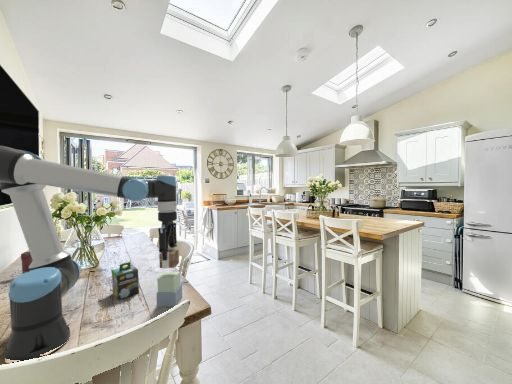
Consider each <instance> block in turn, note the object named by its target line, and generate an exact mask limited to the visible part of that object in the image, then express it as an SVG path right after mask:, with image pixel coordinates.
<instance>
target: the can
mask: <svg viewBox="0 0 512 384" xmlns="http://www.w3.org/2000/svg"><path fill="white" fill-rule="evenodd" d="M20 261H21V272H22V273H21V274H23V273H27V272H29V271H30V270H29V266H30V264H31V263H32V261H33V260H32V257H31V254H30V251H29V250H28V251H25V252H22V253H21V254H20Z"/></svg>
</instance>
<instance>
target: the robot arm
mask: <svg viewBox="0 0 512 384" xmlns="http://www.w3.org/2000/svg"><path fill="white" fill-rule="evenodd" d="M46 186H50V187H54V188H61V189H65V190H66V189H67V190H73V191H79V192H85V193H91V194H97V195H101V196H108V197H109V196H110V197H114V198H120V199H121V198H122V199H127V200H129V201H132V202H139V201H142V200H144V199H157V211H158V213H157V220H158V222H161V227H158V229H157V230H158V231H157V232H158V252H159V254H160V253H162V268H161V269H170V268H169V252H168V250H175V249H176V247H178V244H177V243H178V238H177V222H174V221H177V219H178V213H177V206H178V203H177V181H176V177H175V176H174V175H170V174H169V175H168V174H160V175H159V174H158V175H156V179H145V180H144V179H141V178H140V179H139V178H133V177H129V176H128V177H127V176H122V175H118V174H114V173H108V172H103V171H97V170H93V169H89V168H83V167H79V166H74V165H73V166H72V165H68V164H63V163H58V162H53V161H50V160H49V161H48V160H44V159H43V158H42V157H40V156H39V155H37V154H35V153H33V152H31V151H28V150H24V149H17V148H13V147H9V146H5V145H0V190H1V192H2V193H4V194H6V195H8V196H9V197H10V200H11V203H12V206H13V208H14V211H15V214H16V218H17V220H18V223H19V225H20V228H21V231H22V234H23V237H24V239H25V242H26V246H27V248H28V252H29V251H30V254H31V257H32V260H33V261H32V263H31V264H30V266H29V270H30V271H29V272H27V273H23V274H22V273H21V274H19V275H18V276H16V277H15V278H14V279H12V281H10V283H9V290H8V298H9V313H10V325H11V326H10V328H11V330H10V331H11V332H10V334H9V338H8V340H7V345H6V346H5V349H4V350H3V358H4V357H5V358H6V359H10V360H20V361H24V360H29V359H33V358H39V357H42V356H40V354H44V353H46V352H49V351H50V350H53V349H55V348H57V347H59V346H61V345H62V344H64V343H65V342H66V341H67V340H68V339H69V337H70V338H71V328H70V326H69V325H68V324H67V321H66V320H65V317H64V315H63V297H64V296H65V294H67V293H68V292H69V291H70V290H71V289H72V288H73V287H74V286H75V285H76V283H77V282H78V280H79V278H80V275H81V266H80V265H79V263H78V262H77V261H76V260H73V258H72V255H71V253H70V252H68V251H65V250H64V248H63V246H62V245H63V244H62V242H61V240H60V236H59V233H58V229H57V226H56V224H55V222H54V218H53V216H52V212H51V209H50V206H49V204H48V200H47V198H46V194H45V191H44V189H45V187H46ZM69 340H70V339H69ZM69 340H68V341H69ZM43 356H45V355H43ZM17 362H19V361H17ZM12 363H14V362H12Z"/></svg>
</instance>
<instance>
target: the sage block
mask: <svg viewBox="0 0 512 384" xmlns="http://www.w3.org/2000/svg"><path fill="white" fill-rule="evenodd" d="M180 285H181V271H164V272H163V273H162V274H161V275H159V277H157V292H175V291H176V290H177V289H178V287H179V286H180Z"/></svg>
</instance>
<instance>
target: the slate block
mask: <svg viewBox="0 0 512 384" xmlns="http://www.w3.org/2000/svg"><path fill="white" fill-rule="evenodd" d="M180 284H181V283H180ZM155 296H156V308H163V307H164V308H165V307H166V306H172V307H173V306H175V305H177V306H178V305H179V303H180V301H181V300H182V298H183V284H181V285H180V286H179V287H178V289H177V290H176V291H175V292H158V291H157V292H156V294H155ZM180 299H181V300H180ZM166 308H167V307H166ZM173 308H174V307H173Z"/></svg>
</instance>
